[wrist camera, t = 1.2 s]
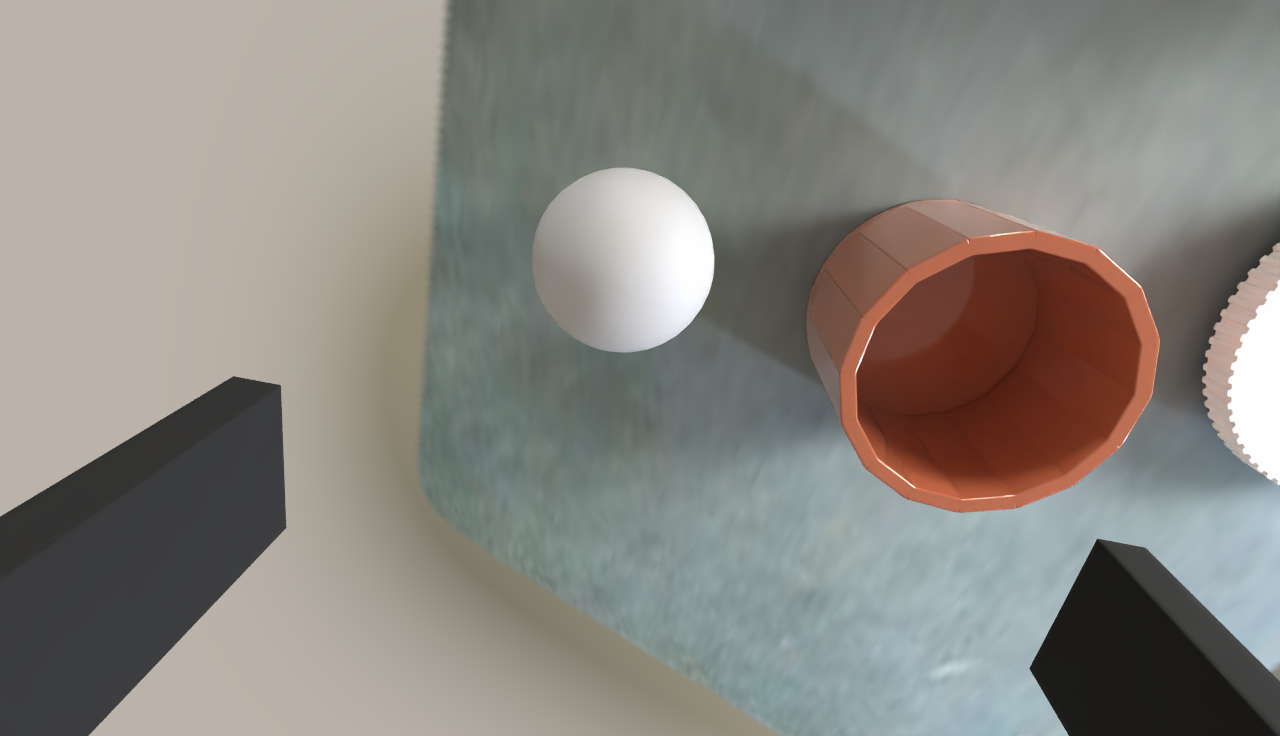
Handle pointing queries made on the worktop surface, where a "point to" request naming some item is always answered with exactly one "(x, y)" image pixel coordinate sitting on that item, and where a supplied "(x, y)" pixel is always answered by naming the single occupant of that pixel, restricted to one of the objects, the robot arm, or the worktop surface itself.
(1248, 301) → the plastic lid
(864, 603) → the worktop surface
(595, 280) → the lightbulb
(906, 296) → the holder
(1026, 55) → the worktop surface
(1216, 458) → the worktop surface
